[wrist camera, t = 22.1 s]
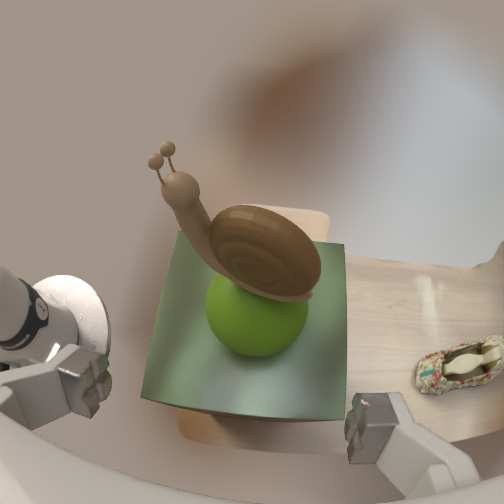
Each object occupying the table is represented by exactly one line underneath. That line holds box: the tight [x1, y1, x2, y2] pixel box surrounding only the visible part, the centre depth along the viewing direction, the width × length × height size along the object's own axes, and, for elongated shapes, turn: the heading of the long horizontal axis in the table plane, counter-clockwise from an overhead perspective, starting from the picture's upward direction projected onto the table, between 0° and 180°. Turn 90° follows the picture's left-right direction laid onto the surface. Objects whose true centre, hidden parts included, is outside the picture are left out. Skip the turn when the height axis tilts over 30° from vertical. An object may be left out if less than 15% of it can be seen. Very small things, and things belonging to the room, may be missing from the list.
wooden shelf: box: [141, 231, 347, 422], centre depth 32 cm, size 12×12×30 cm
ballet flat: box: [416, 335, 504, 395], centre depth 40 cm, size 9×25×8 cm, turn 96°
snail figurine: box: [148, 141, 321, 356], centre depth 14 cm, size 5×6×12 cm
